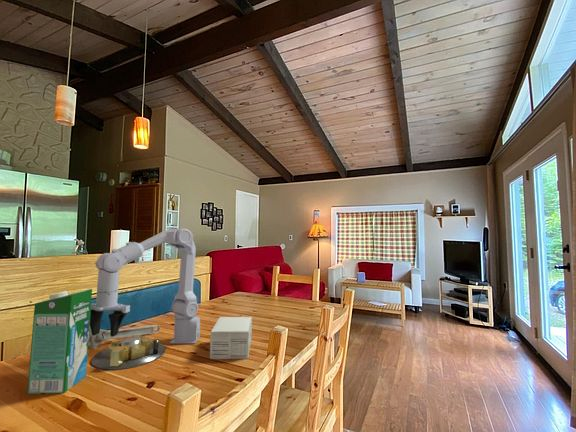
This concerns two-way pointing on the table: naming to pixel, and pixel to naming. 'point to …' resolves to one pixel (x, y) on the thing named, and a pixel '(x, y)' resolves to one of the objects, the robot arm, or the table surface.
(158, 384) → the table surface
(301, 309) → the table surface
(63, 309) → the milk carton
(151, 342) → the golden segmented ring
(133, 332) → the wrench
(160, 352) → the cap base
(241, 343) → the supplement box
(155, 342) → the stop pin
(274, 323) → the table surface
